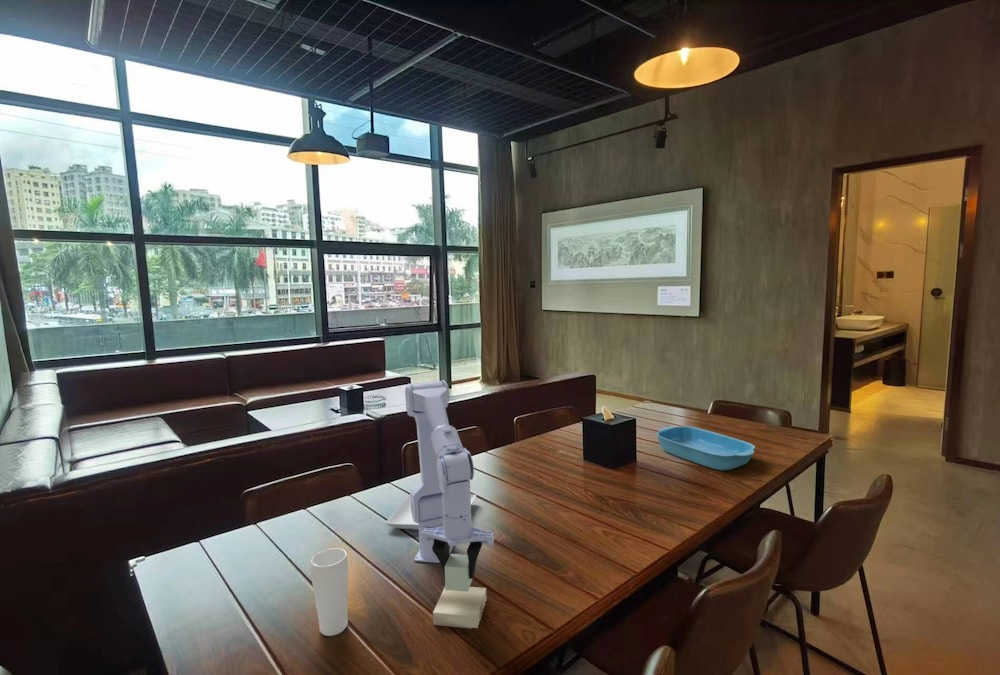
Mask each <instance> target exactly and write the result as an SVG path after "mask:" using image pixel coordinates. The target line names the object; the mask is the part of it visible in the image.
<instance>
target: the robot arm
mask: <svg viewBox="0 0 1000 675" xmlns="http://www.w3.org/2000/svg"><path fill="white" fill-rule="evenodd" d="M404 390H405V391H404V394H405V395H404V396H405V397H404V398H405V405H406V406H405V408H406V412H407V416H409V417H413V418H414V420H415V424H416V432H417V433H416V434H417V446H418V456H419V468H420V469H419V470H420V482H419V483H418V484H417V485H416V486H415V487H414V488H413V489H412V490H411V492H412V493H410V494H411V512H412V518H413V521H414V522H415V523H418V527H419V530H418V541H419V542H418V544H419V545H418V546H419V550H418V552H417V554H416V555H415V557H414V559H413V560H414V562H421V563H437V564H440V566H441V568H442V572H443V576H444V577H445V565H446V563H447V560H448V558H449V556H450V554H451V552H452V550H453V548H454V547H458V546H459V545H460V544H465V543H469V545H468V547H467V549H466V555H468V560H469V579H472V580H473V578H474V576H475V574H476V567H477V566H476V565H477V561H478V557H479V553H480V552H481V549H482V546H483V545H484V544H486V546H488V547H489V546H490V547H493V545H494V543H495V535H494V534H495V533H494V531H489V530H484V529H480V528H476V527H473V525H472V524H473V523H472V522H473V521H472V505H471V481H472V480H473V479H474V476H475V468H474V467H475V466H474V462H473V457H472V454H471V452H470V451H469V450H468V449H467V447H464V446H463V444H462V442H461V439H460V436H459V434H458V430H457V428H456V427H454V426H453V425H450V423H449V418H448V414H447V409H446V408H448V406H449V402H450V389H449V384H448V383H447V382H446V380H443V379H442V380H437V381H428V382H420V383H419V382H418V383H407V384H406V386H405V389H404Z"/></svg>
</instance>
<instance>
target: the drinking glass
mask: <svg viewBox="0 0 1000 675" xmlns="http://www.w3.org/2000/svg"><path fill="white" fill-rule="evenodd" d="M347 555H348V554H347V551H346V550H345V549H343V548H339V547H338V548H337V547H335V548H334V547H333V548H327V549H324V550H321V551H318V552H317V553H316V554H314V556H312V558H311V560H310V567H311V568H310V570H311V571H310V572H311V583H312V589H313V594H314V600H315V607H316V612H317V617H318V618H317V619H318V626H319V632H320V634H322V635H323V636H327V637H333V636H337V635H339V634H341V633H342V632H344V631H345V629H347V626H348V624H349V616H348V615H349V614H348V609H349V608H348V605H349V604H348V603H349V602H348V600H349V597H348V596H349V564H348V563H349V562H348V556H347Z"/></svg>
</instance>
